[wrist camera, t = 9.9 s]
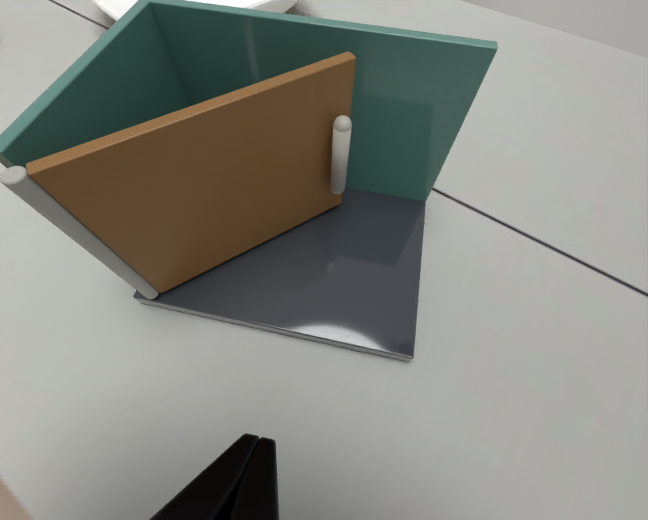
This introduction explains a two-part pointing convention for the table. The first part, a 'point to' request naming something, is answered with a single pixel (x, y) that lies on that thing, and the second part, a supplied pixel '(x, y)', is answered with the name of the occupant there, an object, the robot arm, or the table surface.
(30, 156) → the shower stall
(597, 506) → the table surface
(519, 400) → the table surface
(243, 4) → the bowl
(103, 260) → the brown hinged door
